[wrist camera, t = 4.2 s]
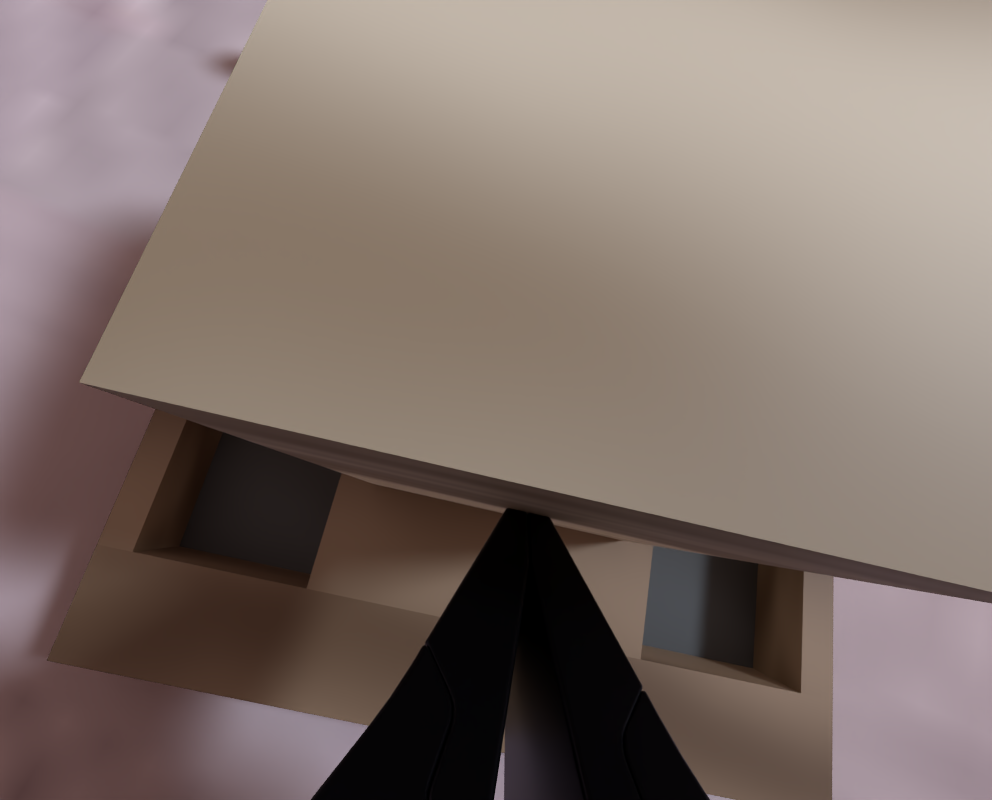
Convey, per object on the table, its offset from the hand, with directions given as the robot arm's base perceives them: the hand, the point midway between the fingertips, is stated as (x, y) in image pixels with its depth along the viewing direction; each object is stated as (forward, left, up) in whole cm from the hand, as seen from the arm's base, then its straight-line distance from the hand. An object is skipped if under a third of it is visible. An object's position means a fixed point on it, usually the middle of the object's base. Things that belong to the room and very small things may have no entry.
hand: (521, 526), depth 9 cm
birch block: (+4, +5, -5) cm, 8 cm away
